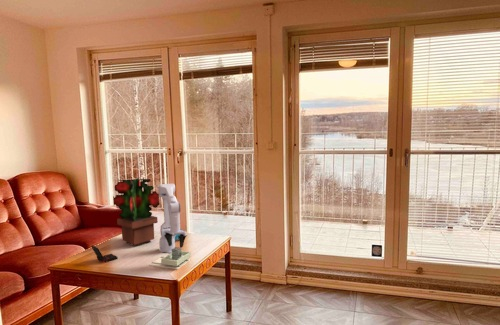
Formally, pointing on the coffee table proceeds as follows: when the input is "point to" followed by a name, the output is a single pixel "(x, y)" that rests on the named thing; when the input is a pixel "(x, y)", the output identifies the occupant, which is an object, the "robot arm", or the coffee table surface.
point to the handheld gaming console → (103, 258)
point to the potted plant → (136, 210)
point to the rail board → (158, 264)
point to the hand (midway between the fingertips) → (175, 246)
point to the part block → (176, 253)
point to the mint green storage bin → (170, 261)
